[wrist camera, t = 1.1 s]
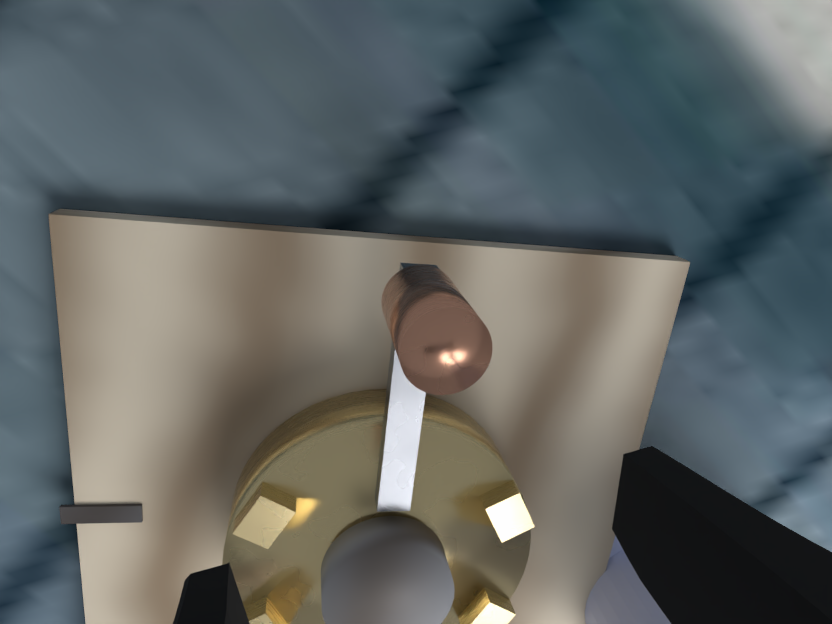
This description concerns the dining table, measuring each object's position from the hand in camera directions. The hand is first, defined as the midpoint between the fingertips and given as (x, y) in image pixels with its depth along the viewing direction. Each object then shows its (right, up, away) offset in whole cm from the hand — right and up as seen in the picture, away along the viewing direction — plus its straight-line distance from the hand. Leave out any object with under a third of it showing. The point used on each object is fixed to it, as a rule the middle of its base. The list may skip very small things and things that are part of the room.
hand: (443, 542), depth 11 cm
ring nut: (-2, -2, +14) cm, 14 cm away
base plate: (-2, -4, +16) cm, 17 cm away
